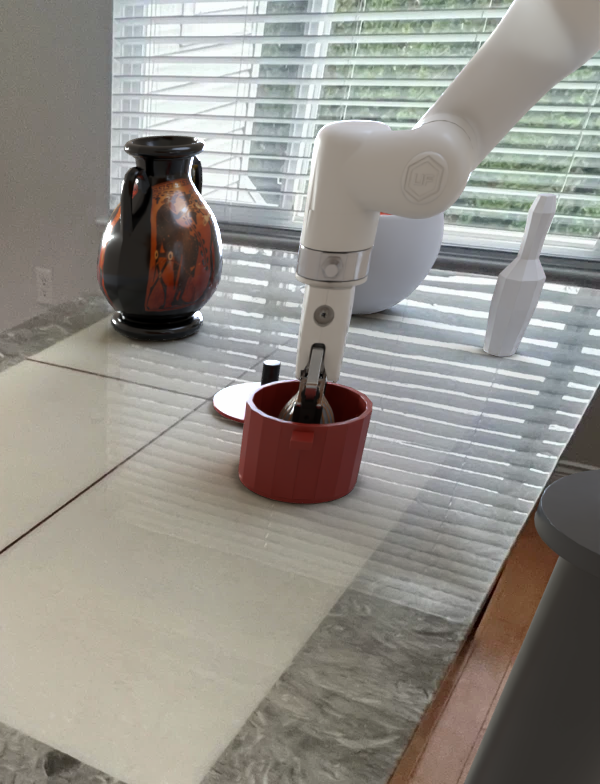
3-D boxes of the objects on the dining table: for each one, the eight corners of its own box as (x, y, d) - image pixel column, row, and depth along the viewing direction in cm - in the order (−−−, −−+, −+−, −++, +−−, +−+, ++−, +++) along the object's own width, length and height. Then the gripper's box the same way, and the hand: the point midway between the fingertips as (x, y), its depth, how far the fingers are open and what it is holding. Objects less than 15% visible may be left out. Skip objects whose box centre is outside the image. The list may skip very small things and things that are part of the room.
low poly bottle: (497, 360, 134) (547, 201, 119) (469, 348, 138) (513, 193, 124) (529, 354, 135) (581, 196, 121) (500, 342, 140) (547, 188, 125)
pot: (266, 312, 156) (280, 201, 144) (327, 282, 169) (345, 178, 157) (390, 336, 144) (416, 218, 132) (445, 302, 157) (474, 191, 145)
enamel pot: (358, 449, 111) (374, 376, 105) (352, 520, 97) (370, 441, 91) (248, 439, 114) (257, 368, 108) (227, 507, 100) (236, 429, 94)
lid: (323, 393, 126) (331, 348, 121) (316, 435, 115) (325, 386, 110) (220, 386, 129) (224, 341, 125) (204, 425, 118) (208, 377, 114)
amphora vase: (149, 303, 162) (156, 127, 143) (241, 325, 150) (262, 137, 132) (71, 331, 151) (68, 144, 132) (164, 357, 139) (175, 156, 121)
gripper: (367, 287, 82) (333, 460, 94) (371, 245, 95) (340, 402, 107) (289, 284, 84) (266, 453, 96) (303, 242, 96) (280, 397, 108)
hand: (305, 425), depth 101 cm, fingers closed on vase, 6 cm apart
